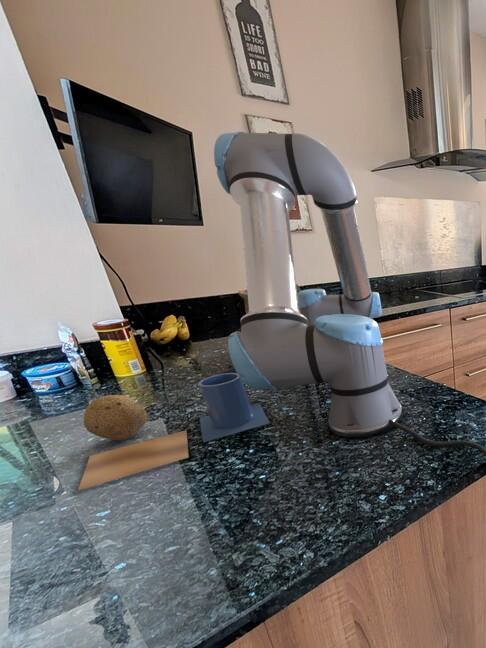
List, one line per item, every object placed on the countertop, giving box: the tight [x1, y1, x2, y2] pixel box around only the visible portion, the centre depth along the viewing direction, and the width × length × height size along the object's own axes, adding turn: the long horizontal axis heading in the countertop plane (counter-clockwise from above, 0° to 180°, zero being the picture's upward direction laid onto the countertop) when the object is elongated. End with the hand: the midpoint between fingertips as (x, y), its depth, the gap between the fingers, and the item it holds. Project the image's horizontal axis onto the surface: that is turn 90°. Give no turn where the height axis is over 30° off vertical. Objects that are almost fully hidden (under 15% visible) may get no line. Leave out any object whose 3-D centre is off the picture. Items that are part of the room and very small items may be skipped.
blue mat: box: [199, 402, 270, 443], centre depth 88 cm, size 14×12×1 cm
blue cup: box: [197, 373, 254, 429], centre depth 86 cm, size 8×8×10 cm
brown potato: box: [83, 394, 148, 442], centre depth 80 cm, size 9×9×10 cm
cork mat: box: [77, 429, 190, 491], centre depth 75 cm, size 14×15×1 cm
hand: (239, 383), depth 89 cm, fingers open, 13 cm apart
